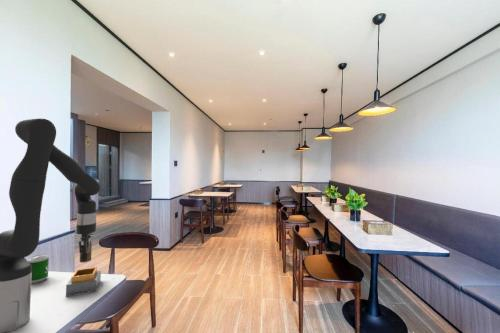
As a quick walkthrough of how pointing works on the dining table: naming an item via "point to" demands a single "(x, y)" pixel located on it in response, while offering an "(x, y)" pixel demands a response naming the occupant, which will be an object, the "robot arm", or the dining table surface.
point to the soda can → (39, 267)
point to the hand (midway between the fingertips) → (85, 258)
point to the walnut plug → (87, 253)
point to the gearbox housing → (83, 281)
